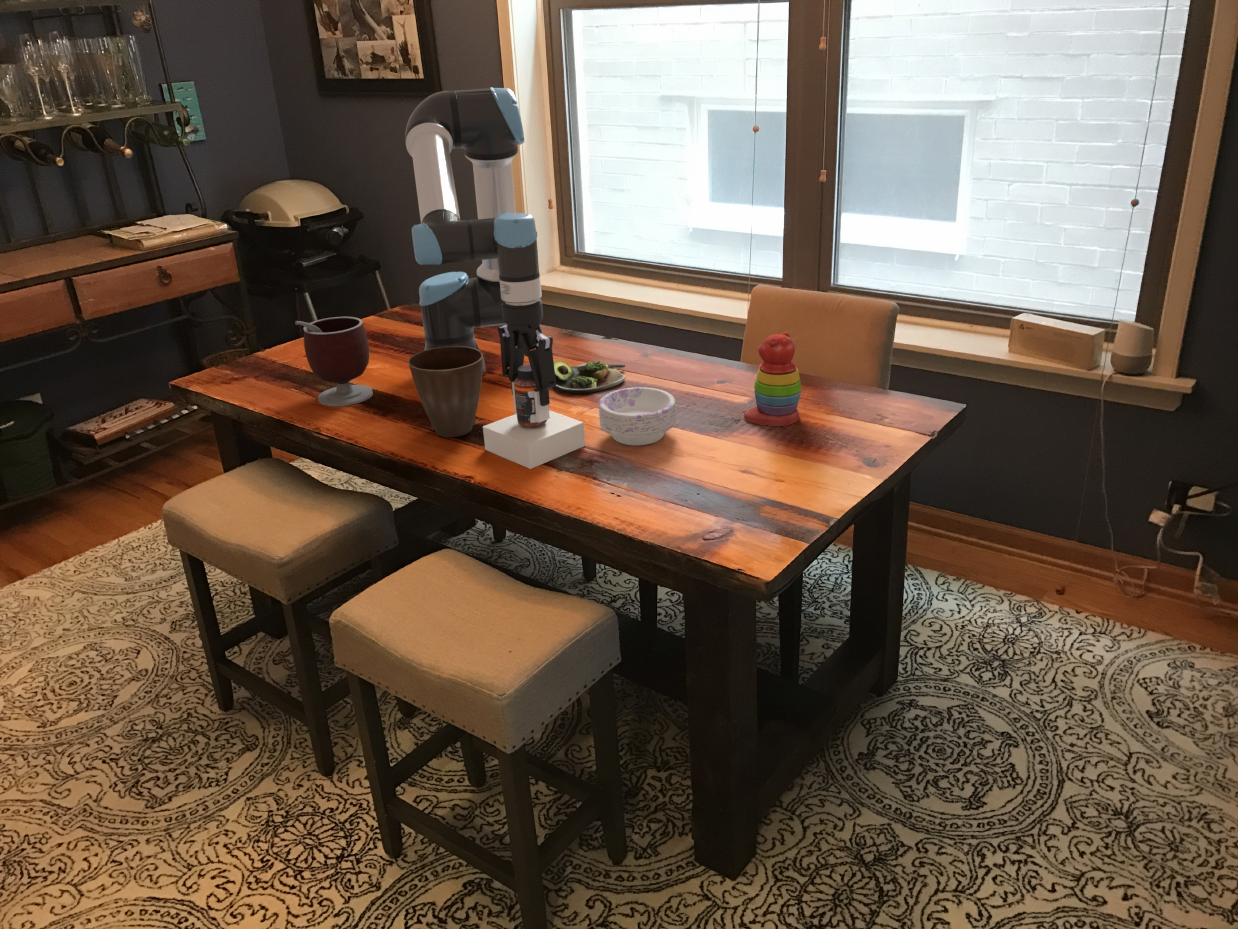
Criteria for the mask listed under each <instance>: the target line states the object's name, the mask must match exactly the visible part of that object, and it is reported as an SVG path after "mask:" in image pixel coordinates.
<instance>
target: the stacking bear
mask: <svg viewBox="0 0 1238 929" xmlns="http://www.w3.org/2000/svg"><path fill="white" fill-rule="evenodd" d="M795 351H796V346H795V342H794V341H793V340H792V338H791V336H790V334H789V333H788V332H787V331H784V332H783V333H782V334H781V333H779V334H778V333H775V334H771V335H769V336H767V337H766V338H765V339H764V341H763V342H762V343H761V344H760V345H759V346H758V350H757V352H758V355H759V357H760V359H761V360H762V362H760V364H759V366H758V370H757V373H756V378H755V380H754V387H753V388H754V392H753V393H754V397H755V404H756V407H753V408H750V409H748V410H747V411H746V412H744V415H743V419H744V421H745V422H749V423H751V424H755V425H760V426H767V425H768V426H769V427H784V426H788V425H792V424H795V423H796V422H798V421H799V419H800V412H799V410H798V405H799V401H800V399H801V394H802V382H801V379H800V371H799V369H798V367H797V366H796V364H795V363H794V362H793V358H794V356H795V353H796V352H795Z"/></svg>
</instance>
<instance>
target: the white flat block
mask: <svg viewBox="0 0 1238 929" xmlns="http://www.w3.org/2000/svg"><path fill="white" fill-rule="evenodd" d="M549 415H550V419H547V422H546V423H544V424H543V425H540V426H537V427H525V426H521V425H520V424H519V423H518V421H517V414H515V413H514V414H513V415H510V416H507V417H504V418H502V419H501V418H500V419H498V420H496V421H494V422H491V423H488V424H486V425H483V426H482V432H483V440H484V449H485V451H487V452H490V453H491V454H494V455H496V456H499V457H501V458H503V459H506V460H508V461H510V462H513V463H516V464H517V465H520V466H522V467H525V468H527V469H529V470H531V469H534V468H536V467H538V466H541V465H543V464H545V463H547V462H550V461H554V460H555V459H557V458H560V457H562V456H565V455H567V454H570V453H571V452H573V451H576V450H579V449H581V448H584V447H585V446H586V440H585V423H584V422H583V421H581V420H577V419H575V418H572V417H569V416H567V415H564V414H560V413H559V412H555V411H553V410H550V409H549Z"/></svg>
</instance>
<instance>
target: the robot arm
mask: <svg viewBox="0 0 1238 929" xmlns="http://www.w3.org/2000/svg"><path fill="white" fill-rule="evenodd" d="M404 137H405V139H404V141H405V146H406V151H407V152H408V154H409V155H410V157H412V162H413V163H412V164H413V171H414V179H415V180H414V181H415V186H416V187H415V188H416V196H417V203H418V209H419V210H418V211H419V217H420V218H419V219H420V223H419V224H414V225H413V226H412V227H411V235H412V236H411V237H412V245H413V251H414V259H415V261H416V263H417V264H419V265H420V266H421V265H422V266H423V265H424V266H425V265H437V266H438V265H439V266H440V265H443V264H444V265H445V264H453V263H463V262H470V261H471V262H473V261H475V262H476V261H481V262H482V263H481V264H480V265H479V266H478V267H477V269H476V277H470V278H469V275H468V274H467V273H466V272H464V271H449V272H444V273H441V274H436V275H433V276H432V277H429V278H427V279H425V280H424V281H423V282H422V283H421V284H420V285H419V287H418V294H419V306H420V309H421V310H420V311H421V318H422V326H423V334H424V339H425V346H424V350H428V349H432V348H438V347H447V346H464V347H471V348H475V349H478V350H480V351H481V349H480V347H479V345H478V343H477V340H476V338H475V332H474V329H475V328H476V329H477V328H484V327H495V326H499V327H497V333H498V337H499V340H500V341H499V342H500V343H499V345H500V358H501V360H500V361H501V373H502V376H503V377H508V380H509V382H510V386H511V395H512V400H513V408H514V415H515V414H517V412H516V401H515V390H514V381H515V379H516V378H517V377H519V375H518V368H519V367H520V366H523V365H524V361H525V356H526V357H527V360H528V363H529V365H530V366H531V370H532V374H533V377H534V381H535V384H536V389H534V398H535V409H536V420H537V422H539V423H540V422H542V421H545V420H547V419H550V415H549V410H550V406H549V405H550V392H549V391H550V390H549V389H553V387H554V386H556V378H555V370H554V362H555V361H554V353H553V345H554V343H553V342H554V340H553V339H554V338H553V337H552V336H551V335H550V336H547V335H545V334H543V331H542V329H541V325H540V324H541V322H542V321H543V319H544V309H543V301H542V299H541V298H542V295H543V294H542V283H541V275H540V268H539V266H540V264H539V253H538V231H537V228H536V219H535V218H534V216H533V215H532V214H530V213H524V212H516V199H515V187H514V186H515V183H514V172H513V160H514V159H515V158H516V157H517V155H518V154H519V148H518V147H519V146H521V145H522V144H524V143H525V133H524V128H523V123H522V118H521V113H520V109H519V106H518V101H517V97H516V94H515V93H514V91H513V90H511V89H510V88H508V87H493V86H491V87H483V88H481V87H479V88H472V89H471V88H469V89H461V90H460V89H459V90H442V91H439V92H438V91H437V92H434V93H432V94H431V95H429V96H427V97H426V98H424V100H422V101H421V102H420V103H419V104H418V105H417V106H415V109H414V110H413V111H412V113H411V114H410V116H409V118H408V121H407V123H406V127H405V133H404ZM518 145H519V146H518ZM453 149H455V150H458V149H463V152H464V156H465V158H466V159H467V160H469V161H470V162H471V163H472V169H473V180H474V191H475V202H476V211H477V218H476V219H468V220H465V219H464V220H461V216H460V208H459V203H458V198H457V191H456V185H455V178H454V172H453V167H452V160H451V152H452V151H453ZM485 370H486V363H485V358H484V357H483V369H482V373H484V371H485ZM541 382H542V383H541Z"/></svg>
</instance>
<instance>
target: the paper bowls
mask: <svg viewBox="0 0 1238 929" xmlns="http://www.w3.org/2000/svg"><path fill="white" fill-rule="evenodd" d="M676 402H677V401H676V398H675V397H674V396H673V395H672V394H671V393H670V392H667V391H665V390H662V389H658V388H655V387H654V388H653V387H646V386H645V387H642V386H641V387H638V386H636V387H635V386H634V387H627V388H621V389H616V390H613V391H611V392H609V393H607V394H604V396H602V397H601V398H600V400H599V402H598V413H599V414H598V415H599V426H600V428H601V430H602V431H603V432H605V433H607V434H608V435H611V437H612V439H614V440H615V441H616V442H617V443H620V444H622V445H625V446H636V447H639V446H640V447H641V446H647V445H651V444H654V443H656V442H658V441H660V440H661V439H662V438H663V437H665V434H666V432H668V431H670V430H671V429H672V428H673V427H674V426H675V425H676V422H677V413H676V412H677V407H676V406H677V405H676Z"/></svg>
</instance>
